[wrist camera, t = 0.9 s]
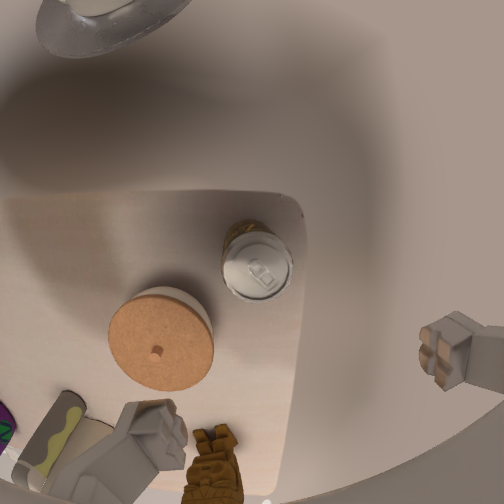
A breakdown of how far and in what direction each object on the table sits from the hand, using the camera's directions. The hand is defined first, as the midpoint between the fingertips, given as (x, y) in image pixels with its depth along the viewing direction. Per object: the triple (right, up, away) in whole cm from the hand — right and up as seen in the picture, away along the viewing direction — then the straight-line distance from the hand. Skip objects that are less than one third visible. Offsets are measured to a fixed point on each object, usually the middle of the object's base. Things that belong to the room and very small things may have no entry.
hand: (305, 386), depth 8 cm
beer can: (-2, +5, +25) cm, 25 cm away
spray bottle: (-30, -20, +28) cm, 45 cm away
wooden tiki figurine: (-7, -24, +30) cm, 39 cm away
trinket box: (-11, -4, +26) cm, 28 cm away
